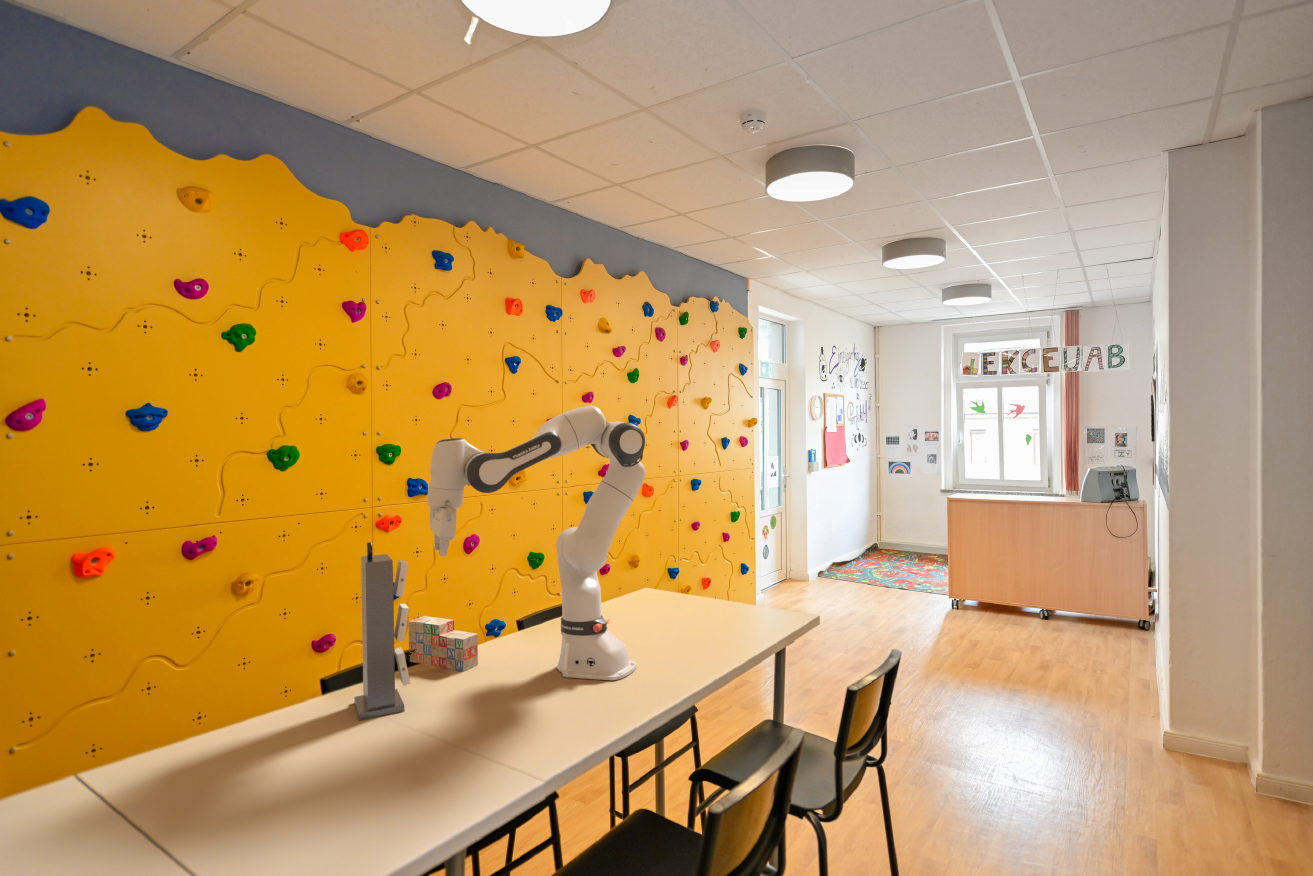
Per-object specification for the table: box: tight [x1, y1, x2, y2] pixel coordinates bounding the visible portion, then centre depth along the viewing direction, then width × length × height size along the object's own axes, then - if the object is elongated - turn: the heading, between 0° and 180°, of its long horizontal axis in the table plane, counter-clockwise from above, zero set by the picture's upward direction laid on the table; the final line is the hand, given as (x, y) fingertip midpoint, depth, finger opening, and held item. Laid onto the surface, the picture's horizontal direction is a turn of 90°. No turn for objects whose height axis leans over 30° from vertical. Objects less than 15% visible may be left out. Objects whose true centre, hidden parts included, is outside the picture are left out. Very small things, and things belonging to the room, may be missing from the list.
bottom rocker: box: [394, 646, 411, 687], centre depth 166 cm, size 2×5×8 cm, turn 29°
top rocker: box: [393, 559, 409, 597], centre depth 166 cm, size 2×5×8 cm, turn 30°
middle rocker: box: [394, 603, 410, 642], centre depth 166 cm, size 2×5×8 cm, turn 29°
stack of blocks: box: [407, 615, 479, 672], centre depth 195 cm, size 21×6×12 cm, turn 63°
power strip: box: [353, 541, 406, 721], centre depth 164 cm, size 10×12×40 cm
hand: (440, 552), depth 173 cm, fingers open, 8 cm apart
